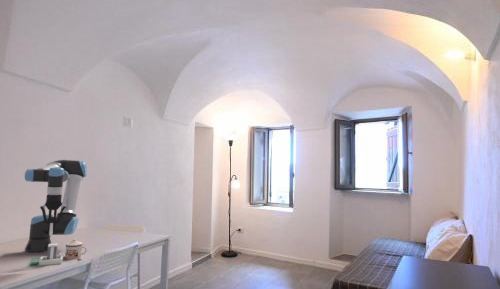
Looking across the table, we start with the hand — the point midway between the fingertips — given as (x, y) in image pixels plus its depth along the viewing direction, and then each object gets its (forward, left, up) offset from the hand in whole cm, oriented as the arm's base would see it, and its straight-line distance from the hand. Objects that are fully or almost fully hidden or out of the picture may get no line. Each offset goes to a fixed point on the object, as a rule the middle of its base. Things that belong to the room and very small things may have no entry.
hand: (50, 234), depth 183 cm
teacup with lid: (-7, +14, -17) cm, 23 cm away
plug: (+2, +2, -15) cm, 15 cm away
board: (-1, -1, -17) cm, 17 cm away
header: (+2, +2, -15) cm, 16 cm away
